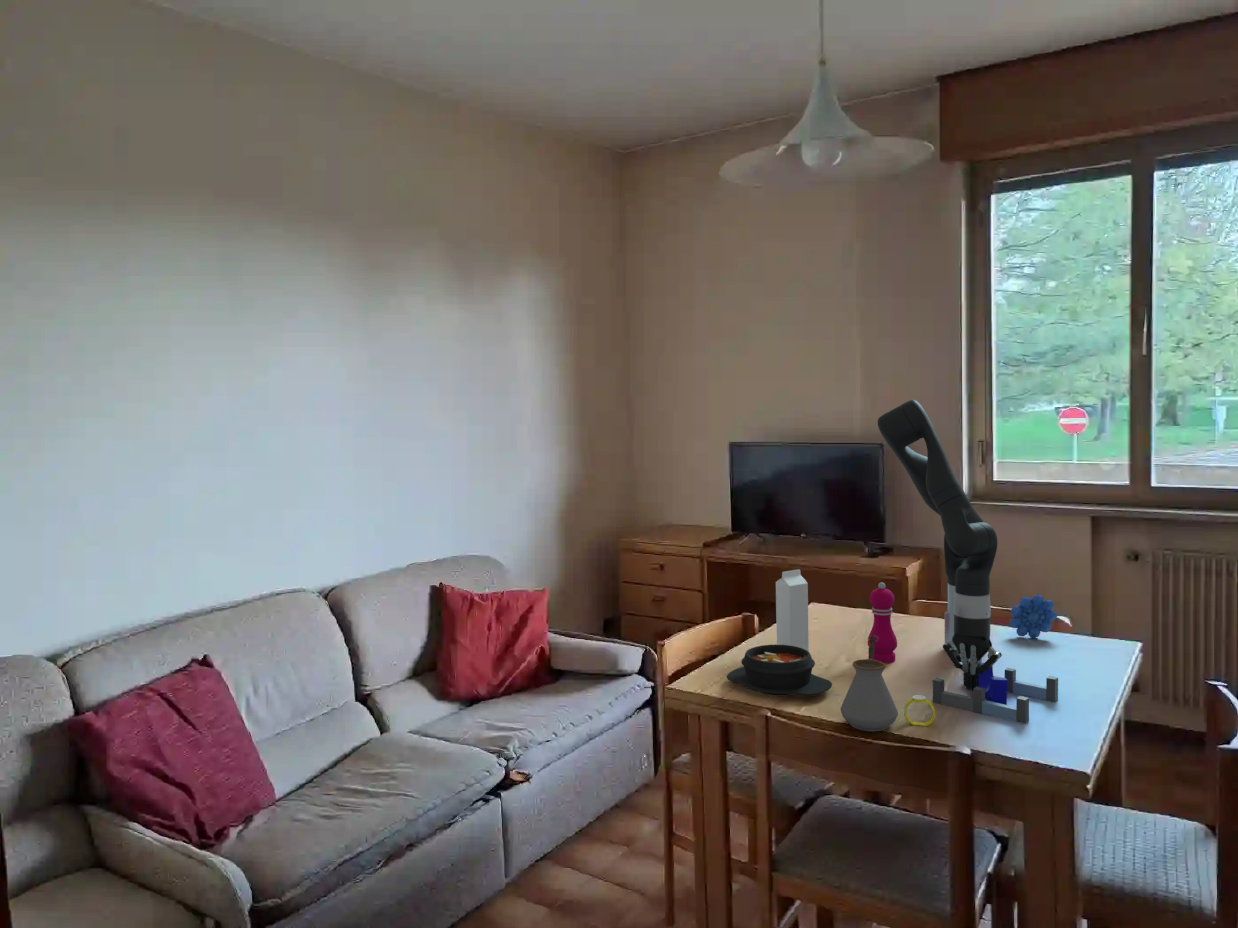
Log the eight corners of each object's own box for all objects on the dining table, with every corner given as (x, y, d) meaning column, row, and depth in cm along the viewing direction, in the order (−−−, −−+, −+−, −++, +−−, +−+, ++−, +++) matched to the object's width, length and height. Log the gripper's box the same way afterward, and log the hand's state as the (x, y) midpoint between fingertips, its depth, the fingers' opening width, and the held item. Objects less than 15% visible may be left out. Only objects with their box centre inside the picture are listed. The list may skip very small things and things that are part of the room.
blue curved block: (969, 687, 202) (970, 662, 202) (990, 688, 202) (990, 662, 201) (984, 706, 190) (985, 679, 190) (1006, 707, 190) (1007, 679, 189)
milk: (776, 651, 234) (774, 569, 233) (795, 647, 237) (793, 567, 235) (790, 657, 229) (788, 573, 227) (809, 653, 232) (807, 570, 230)
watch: (905, 727, 181) (902, 699, 181) (905, 722, 184) (903, 694, 183) (936, 728, 179) (933, 699, 179) (935, 723, 182) (933, 694, 181)
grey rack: (932, 701, 194) (932, 679, 194) (968, 680, 207) (968, 659, 206) (1025, 723, 180) (1025, 700, 179) (1057, 699, 193) (1058, 677, 192)
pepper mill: (863, 656, 228) (862, 580, 226) (890, 654, 228) (890, 578, 227) (874, 664, 221) (873, 586, 219) (902, 663, 221) (901, 584, 219)
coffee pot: (897, 737, 175) (896, 664, 174) (837, 731, 179) (836, 659, 178) (900, 700, 195) (900, 634, 194) (847, 696, 199) (846, 631, 198)
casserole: (844, 685, 206) (844, 650, 206) (811, 710, 191) (810, 672, 191) (749, 668, 221) (749, 635, 221) (711, 690, 206) (710, 655, 206)
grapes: (1055, 635, 241) (1055, 591, 240) (1057, 642, 234) (1058, 597, 233) (1008, 632, 245) (1008, 589, 244) (1009, 638, 238) (1010, 595, 237)
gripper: (935, 611, 197) (935, 686, 199) (994, 621, 188) (993, 700, 189) (950, 604, 202) (950, 678, 204) (1009, 614, 193) (1008, 691, 194)
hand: (971, 689), depth 196 cm, fingers closed
